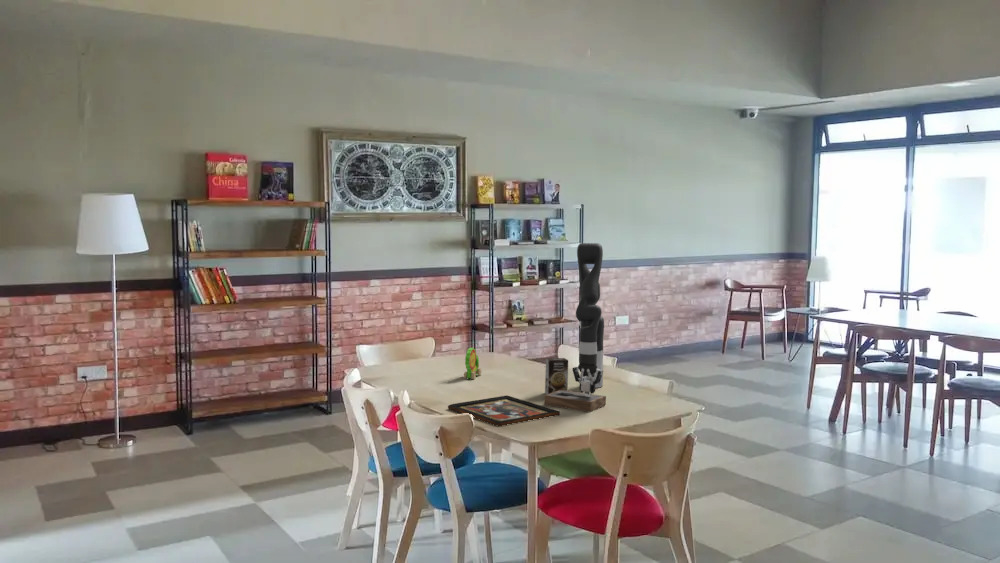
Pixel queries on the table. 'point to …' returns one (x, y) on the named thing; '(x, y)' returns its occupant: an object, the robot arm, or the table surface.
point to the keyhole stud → (586, 388)
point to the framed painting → (503, 410)
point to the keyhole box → (574, 400)
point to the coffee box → (556, 375)
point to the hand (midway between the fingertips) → (587, 392)
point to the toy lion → (472, 364)
